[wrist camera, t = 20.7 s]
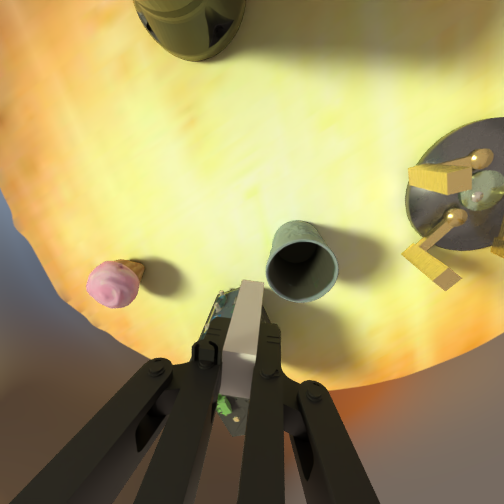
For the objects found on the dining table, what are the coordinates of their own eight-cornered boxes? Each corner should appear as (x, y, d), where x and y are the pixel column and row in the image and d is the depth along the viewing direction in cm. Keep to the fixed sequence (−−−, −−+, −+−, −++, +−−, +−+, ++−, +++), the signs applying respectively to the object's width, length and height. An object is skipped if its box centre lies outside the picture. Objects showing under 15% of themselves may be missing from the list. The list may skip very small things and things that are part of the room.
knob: (454, 203, 40) (505, 219, 31) (466, 214, 40) (520, 233, 31) (400, 253, 43) (431, 280, 35) (411, 262, 44) (445, 291, 35)
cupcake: (147, 294, 54) (120, 323, 45) (109, 278, 53) (73, 304, 44) (158, 259, 51) (131, 284, 41) (117, 242, 50) (80, 263, 41)
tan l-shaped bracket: (487, 146, 36) (555, 144, 27) (486, 165, 37) (552, 170, 28) (407, 167, 38) (447, 172, 29) (408, 185, 39) (447, 195, 30)
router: (249, 276, 50) (232, 350, 32) (281, 345, 56) (283, 442, 37) (214, 288, 52) (178, 365, 33) (248, 354, 58) (234, 450, 39)
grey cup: (325, 215, 44) (341, 238, 33) (323, 268, 48) (336, 303, 37) (267, 218, 45) (263, 240, 34) (269, 269, 49) (267, 303, 38)
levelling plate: (431, 111, 37) (441, 109, 35) (575, 125, 36) (596, 124, 34) (389, 239, 45) (395, 244, 42) (507, 254, 44) (520, 260, 41)
